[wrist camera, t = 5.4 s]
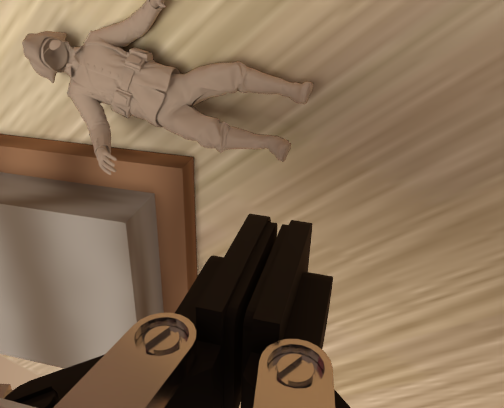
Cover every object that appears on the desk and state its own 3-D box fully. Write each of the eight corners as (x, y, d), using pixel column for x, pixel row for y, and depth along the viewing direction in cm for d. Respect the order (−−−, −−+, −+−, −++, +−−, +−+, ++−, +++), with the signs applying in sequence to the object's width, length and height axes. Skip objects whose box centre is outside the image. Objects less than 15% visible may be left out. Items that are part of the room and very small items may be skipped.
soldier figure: (261, 232, 18) (-45, 119, 17) (253, 220, 23) (15, 132, 22) (332, 40, 18) (25, -84, 17) (309, 69, 22) (70, -25, 22)
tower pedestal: (193, 157, 23) (155, 196, 19) (199, 351, 29) (171, 411, 25) (-32, 130, 25) (-105, 160, 22) (17, 314, 31) (-34, 363, 28)
